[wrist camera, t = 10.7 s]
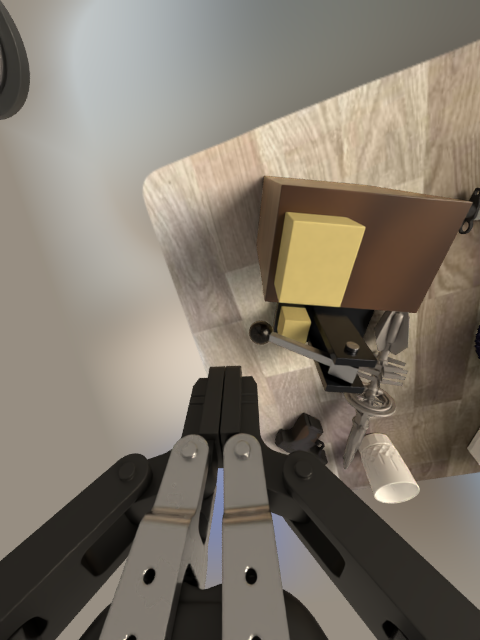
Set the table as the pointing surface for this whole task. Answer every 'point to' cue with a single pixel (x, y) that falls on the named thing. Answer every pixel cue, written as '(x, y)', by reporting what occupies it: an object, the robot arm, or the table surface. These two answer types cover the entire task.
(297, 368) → the table surface
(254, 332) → the lever handle
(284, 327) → the butter
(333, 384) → the slicer
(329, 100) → the table surface
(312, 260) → the butter pat
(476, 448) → the white rounded chunky piece
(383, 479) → the white cup
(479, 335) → the blue striped dome
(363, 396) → the spaceship
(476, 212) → the knife
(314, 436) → the handgun
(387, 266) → the stand
